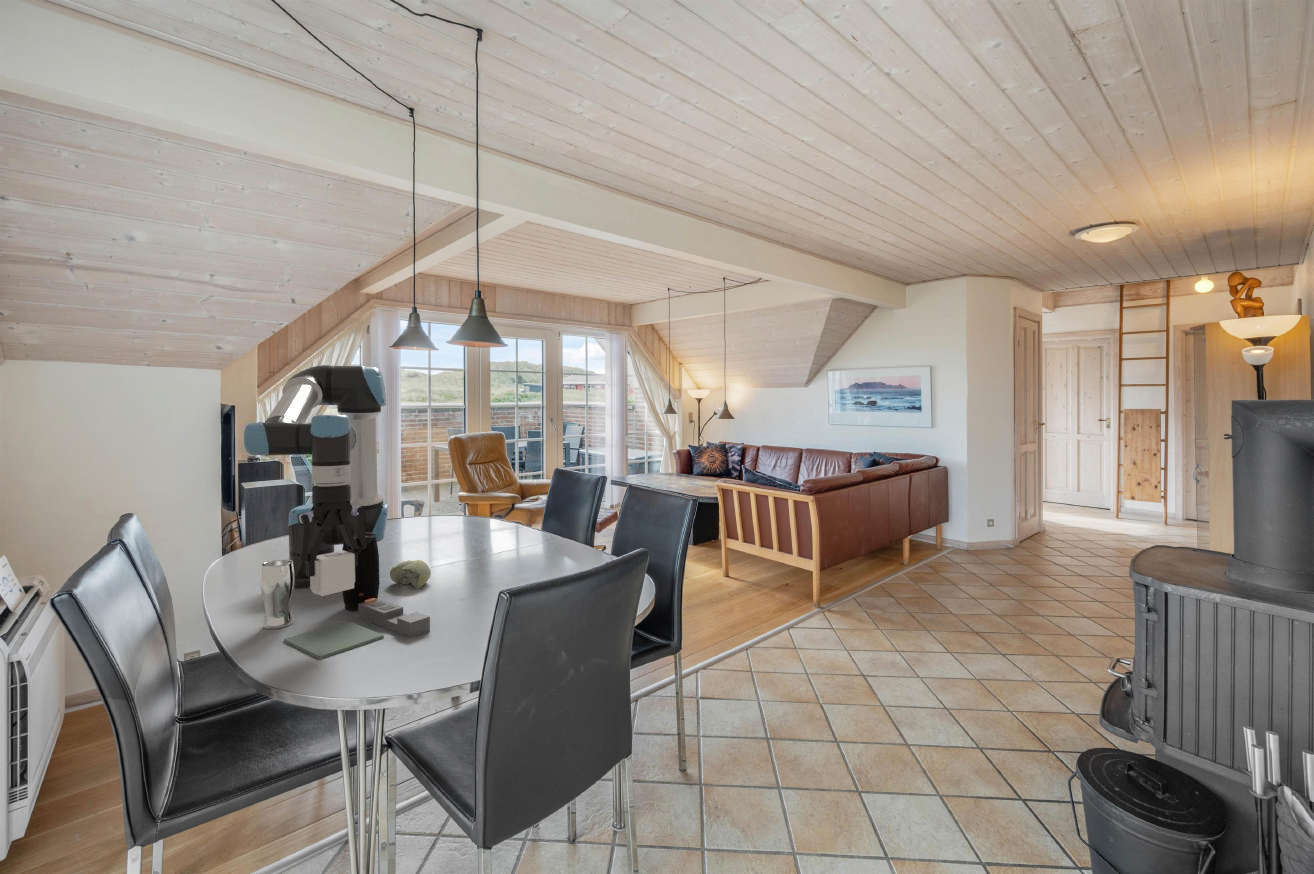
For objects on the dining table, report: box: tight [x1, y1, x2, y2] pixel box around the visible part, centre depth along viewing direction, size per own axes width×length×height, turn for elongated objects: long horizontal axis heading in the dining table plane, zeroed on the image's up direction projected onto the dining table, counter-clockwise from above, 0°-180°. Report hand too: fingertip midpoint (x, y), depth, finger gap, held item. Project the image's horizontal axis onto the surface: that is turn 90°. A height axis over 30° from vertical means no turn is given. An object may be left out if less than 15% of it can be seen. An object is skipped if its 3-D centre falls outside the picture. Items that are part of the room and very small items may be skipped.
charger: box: [311, 550, 354, 597], centre depth 130 cm, size 4×7×8 cm, turn 146°
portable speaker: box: [341, 532, 380, 612], centre depth 152 cm, size 8×9×19 cm
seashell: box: [389, 559, 432, 590], centre depth 172 cm, size 13×8×10 cm
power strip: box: [357, 598, 431, 638], centre depth 140 cm, size 22×5×4 cm, turn 56°
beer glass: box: [259, 558, 295, 630], centre depth 139 cm, size 7×7×15 cm
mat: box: [283, 620, 385, 660], centre depth 131 cm, size 16×14×1 cm
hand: (333, 585), depth 130 cm, fingers closed on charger, 7 cm apart
